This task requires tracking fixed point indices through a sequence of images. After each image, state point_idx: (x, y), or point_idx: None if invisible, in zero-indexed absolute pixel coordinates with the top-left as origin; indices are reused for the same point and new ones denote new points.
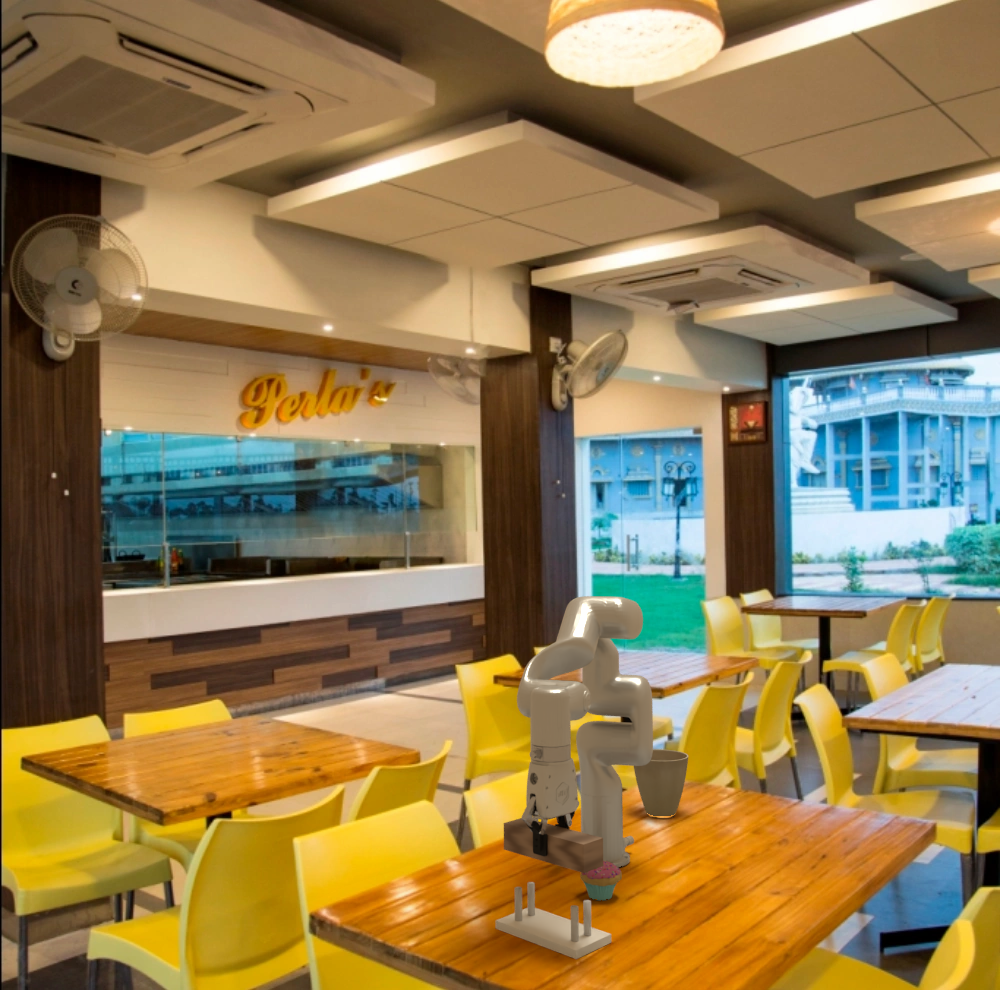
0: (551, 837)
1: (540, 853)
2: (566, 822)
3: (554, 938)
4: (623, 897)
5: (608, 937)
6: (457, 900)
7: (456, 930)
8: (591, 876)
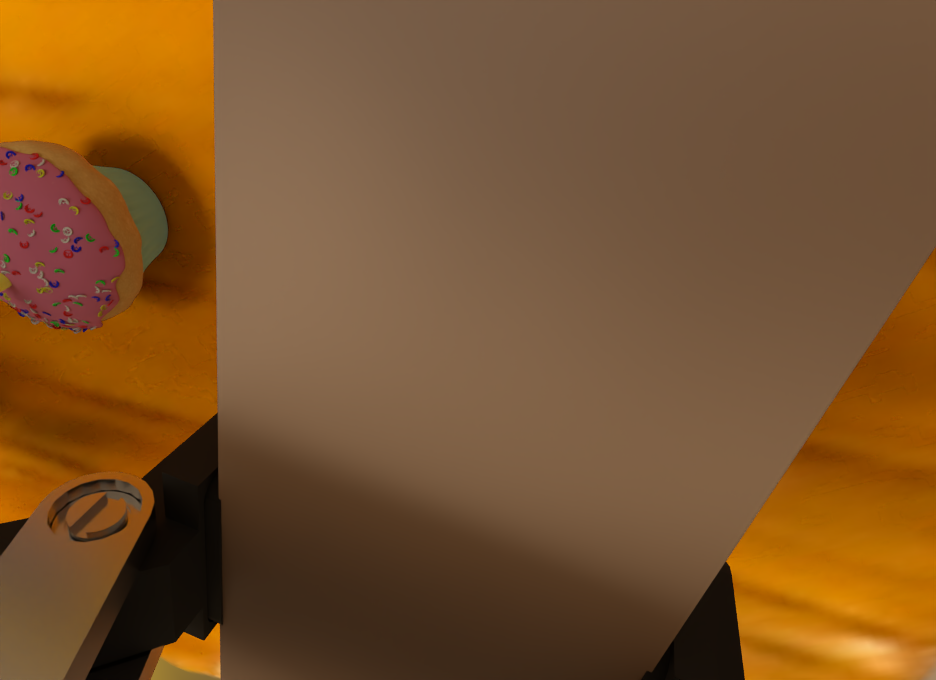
0: (696, 587)
1: None
2: (136, 561)
3: None
4: (71, 124)
5: None
6: None
7: None
8: (111, 254)
